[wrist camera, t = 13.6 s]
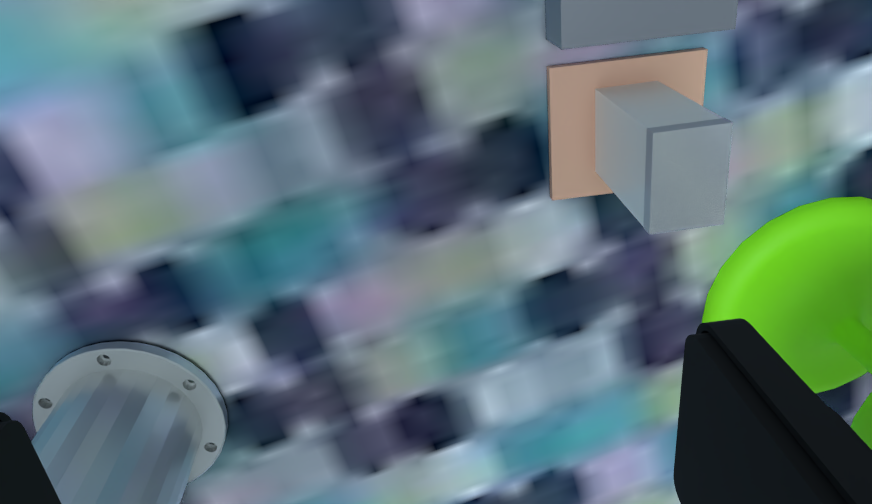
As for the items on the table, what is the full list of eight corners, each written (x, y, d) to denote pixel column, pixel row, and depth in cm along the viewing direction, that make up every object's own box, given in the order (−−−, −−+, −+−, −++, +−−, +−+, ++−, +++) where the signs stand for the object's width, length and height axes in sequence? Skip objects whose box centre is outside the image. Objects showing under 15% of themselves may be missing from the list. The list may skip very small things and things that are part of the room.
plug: (654, 163, 40) (723, 224, 32) (595, 171, 40) (649, 234, 32) (657, 80, 38) (733, 122, 29) (594, 88, 37) (653, 133, 29)
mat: (692, 179, 41) (696, 182, 41) (550, 196, 41) (552, 200, 40) (702, 47, 37) (707, 49, 37) (546, 66, 37) (549, 68, 37)
